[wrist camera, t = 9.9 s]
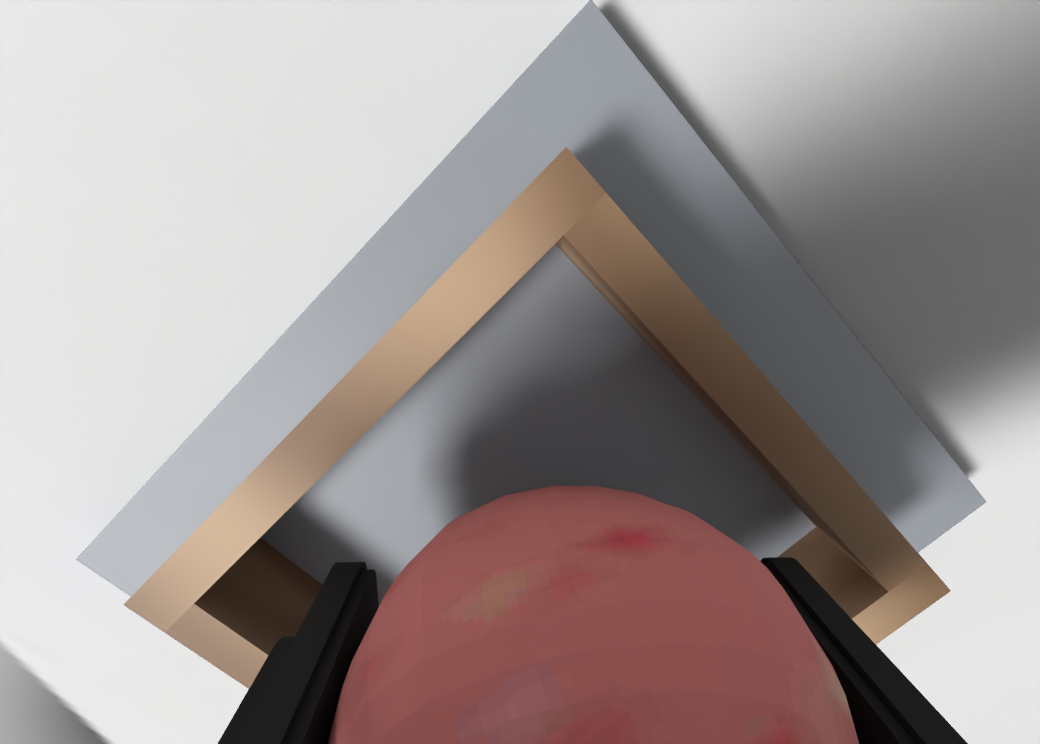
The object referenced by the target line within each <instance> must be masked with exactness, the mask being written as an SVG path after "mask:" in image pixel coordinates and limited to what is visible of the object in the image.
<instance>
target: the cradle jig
mask: <svg viewBox="0 0 1040 744" xmlns="http://www.w3.org/2000/svg"><path fill="white" fill-rule="evenodd" d="M550 486H599V487H605V488H610V489H616V490H622V491H628V492H633V493H638V494H642V495H644V496H647V497H650V498H652V499H655V500H658V501H660V502H663V503H665V504H668V505H671V506H674V507H677V508H680V509H684V510H687V511H689V512H690V513H692V514H694V515H696V516H697V517H699V518H700V519H702V520H703V521H705V522H706V523H708V524H709V525H711V526H713V527H714V528H716V529H717V530H719V531H720V532H722V533H723V534H725V535H726V536H728V537H729V538H731V539H732V540H734V541H735V542H737V543H738V544H740V545H741V546H742V547H744V548H745V549H746V550H748V551H749V552H751V553H752V554H753V555H754V556H755V557H756V558H757V559H758V560H759V561H761V560H762V558H768V557H791V558H795V559H796V560H797V561H798V562H799V563H800V564H801V565H802V566H803V567H804V568H805V569H806V570H807V571H808V572H809V574H810V575H811V576H812V577H813V578H814V579H815V580H816V581H817V582H818V583H819V584H820V585H821V586H822V588H823V589H824V590H825V591H826V592H827V593H828V594H829V595H830V596H831V597H832V598H833V599H834V600H835V601H836V603H837V604H838V605H839V606H840V607H841V608H842V609H843V610H844V611H845V612H846V613H847V614H848V615H849V617H850V618H851V619H852V620H853V621H854V622H855V623H856V624H857V625H858V626H859V627H860V628H861V629H862V631H863V632H864V633H865V634H866V635H867V636H868V637H869V638H870V639H871V640H872V641H873V642H874V643H875V645H876V644H877V643H879V642H880V641H882V640H883V639H884V638H886V637H887V636H889V635H890V634H891V633H893V632H894V631H896V630H897V629H898V628H900V627H901V626H902V625H904V624H905V623H907V622H908V621H909V620H911V619H912V618H914V617H915V616H916V615H918V614H919V613H921V612H922V611H923V610H925V609H926V608H928V607H929V606H930V605H932V604H933V603H935V602H936V601H937V600H939V599H940V598H942V597H943V596H944V595H946V594H947V593H949V592H950V589H949V588H948V587H947V586H946V585H945V584H944V582H943V581H942V580H941V579H940V578H939V577H938V576H937V574H936V573H935V572H934V571H933V570H932V569H931V567H930V566H929V565H928V564H927V563H926V562H925V561H924V559H923V558H922V557H921V556H920V555H919V554H918V552H919V551H921V550H922V549H924V548H925V547H926V546H928V545H929V544H930V543H932V542H933V541H934V540H936V539H937V538H938V537H940V536H941V535H942V534H944V533H945V532H946V531H948V530H949V529H951V528H952V527H953V526H955V525H956V524H957V523H959V522H960V521H961V520H963V519H964V518H965V517H967V516H968V515H969V514H971V513H972V512H974V511H975V510H976V509H978V508H979V507H980V506H982V505H983V504H984V503H986V501H985V499H984V498H983V497H982V496H981V494H980V493H979V492H978V490H977V489H976V488H975V487H974V485H973V484H972V483H971V482H970V480H969V479H968V478H967V477H966V475H965V474H964V473H963V471H962V470H961V469H960V468H959V466H958V465H957V464H956V463H955V461H954V460H953V459H952V457H951V456H950V455H949V454H948V452H947V451H946V450H945V449H944V447H943V446H942V445H941V443H940V442H939V441H938V440H937V438H936V437H935V436H934V435H933V433H932V432H931V431H930V429H929V428H928V427H927V426H926V424H925V423H924V422H923V421H922V419H921V418H920V417H919V415H918V414H917V413H916V412H915V410H914V409H913V408H912V407H911V405H910V404H909V403H908V402H907V400H906V399H905V398H904V396H903V395H902V394H901V393H900V391H899V390H898V389H897V388H896V386H895V385H894V384H893V382H892V381H891V380H890V379H889V377H888V376H887V375H886V374H885V372H884V371H883V370H882V368H881V367H880V366H879V365H878V363H877V362H876V361H875V360H874V358H873V357H872V356H871V354H870V353H869V352H868V351H867V349H866V348H865V347H864V346H863V344H862V343H861V342H860V340H859V339H858V338H857V337H856V335H855V334H854V333H853V332H852V330H851V329H850V328H849V327H848V325H847V324H846V323H845V321H844V320H843V319H842V318H841V316H840V315H839V314H838V313H837V311H836V310H835V309H834V307H833V306H832V305H831V304H830V302H829V301H828V300H827V299H826V297H825V296H824V295H823V293H822V292H821V291H820V290H819V288H818V287H817V286H816V285H815V283H814V282H813V281H812V279H811V278H810V277H809V276H808V274H807V273H806V272H805V271H804V269H803V268H802V267H801V265H800V264H799V263H798V262H797V260H796V259H795V258H794V257H793V255H792V254H791V253H790V252H789V250H788V249H787V248H786V246H785V245H784V244H783V243H782V241H781V240H780V239H779V238H778V236H777V235H776V234H775V232H774V231H773V230H772V229H771V227H770V226H769V225H768V224H767V222H766V221H765V220H764V218H763V217H762V216H761V215H760V213H759V212H758V211H757V210H756V208H755V207H754V206H753V204H752V203H751V202H750V201H749V199H748V198H747V197H746V196H745V194H744V193H743V192H742V190H741V189H740V188H739V187H738V185H737V184H736V183H735V182H734V180H733V179H732V178H731V177H730V175H729V174H728V173H727V171H726V170H725V169H724V168H723V166H722V165H721V164H720V163H719V161H718V160H717V159H716V157H715V156H714V155H713V154H712V152H711V151H710V150H709V149H708V147H707V146H706V145H705V143H704V142H703V141H702V140H701V138H700V137H699V136H698V135H697V133H696V132H695V131H694V129H693V128H692V127H691V126H690V124H689V123H688V122H687V121H686V119H685V118H684V117H683V115H682V114H681V113H680V112H679V110H678V109H677V108H676V107H675V105H674V104H673V103H672V102H671V100H670V99H669V98H668V96H667V95H666V94H665V93H664V91H663V90H662V89H661V88H660V86H659V85H658V84H657V82H656V81H655V80H654V79H653V77H652V76H651V75H650V74H649V72H648V71H647V70H646V68H645V67H644V66H643V65H642V63H641V62H640V61H639V60H638V58H637V57H636V56H635V54H634V53H633V52H632V51H631V49H630V48H629V47H628V46H627V44H626V43H625V42H624V40H623V39H622V38H621V37H620V35H619V34H618V33H617V32H616V30H615V29H614V28H613V27H612V25H611V24H610V23H609V21H608V20H607V19H606V18H605V16H604V15H603V14H602V13H601V11H600V10H599V9H598V7H597V6H596V5H595V4H594V2H593V1H592V0H590V1H589V2H588V3H587V4H586V5H585V6H584V7H583V8H582V10H581V11H580V12H579V13H578V14H577V15H576V16H575V17H574V18H573V19H572V20H571V21H570V23H569V24H568V25H567V26H566V27H565V28H564V29H563V30H562V31H561V32H560V33H559V35H558V36H557V37H556V38H555V39H554V40H553V41H552V42H551V43H550V44H549V45H548V47H547V48H546V49H545V50H544V51H543V52H542V53H541V54H540V55H539V56H538V57H537V58H536V60H535V61H534V62H533V63H532V64H531V65H530V66H529V67H528V68H527V69H526V70H525V72H524V73H523V74H522V75H521V76H520V77H519V78H518V79H517V80H516V81H515V82H514V83H513V85H512V86H511V87H510V88H509V89H508V90H507V91H506V92H505V93H504V94H503V95H502V97H501V98H500V99H499V100H498V101H497V102H496V103H495V104H494V105H493V106H492V107H491V108H490V110H489V111H488V112H487V113H486V114H485V115H484V116H483V117H482V118H481V119H480V120H479V122H478V123H477V124H476V125H475V126H474V127H473V128H472V129H471V130H470V131H469V132H468V134H467V135H466V136H465V137H464V138H463V139H462V140H461V141H460V142H459V143H458V144H457V145H456V147H455V148H454V149H453V150H452V151H451V152H450V153H449V154H448V155H447V156H446V157H445V159H444V160H443V161H442V162H441V163H440V164H439V165H438V166H437V167H436V168H435V169H434V170H433V172H432V173H431V174H430V175H429V176H428V177H427V178H426V179H425V180H424V181H423V182H422V184H421V185H420V186H419V187H418V188H417V189H416V190H415V191H414V192H413V193H412V194H411V196H410V197H409V198H408V199H407V200H406V201H405V202H404V203H403V204H402V205H401V206H400V207H399V209H398V210H397V211H396V212H395V213H394V214H393V215H392V216H391V217H390V218H389V219H388V221H387V222H386V223H385V224H384V225H383V226H382V227H381V228H380V229H379V230H378V231H377V232H376V234H375V235H374V236H373V237H372V238H371V239H370V240H369V241H368V242H367V243H366V244H365V246H364V247H363V248H362V249H361V250H360V251H359V252H358V253H357V254H356V255H355V256H354V258H353V259H352V260H351V261H350V262H349V263H348V264H347V265H346V266H345V267H344V268H343V269H342V271H341V272H340V273H339V274H338V275H337V276H336V277H335V278H334V279H333V280H332V281H331V283H330V284H329V285H328V286H327V287H326V288H325V289H324V290H323V291H322V292H321V293H320V294H319V296H318V297H317V298H316V299H315V300H314V301H313V302H312V303H311V304H310V305H309V306H308V308H307V309H306V310H305V311H304V312H303V313H302V314H301V315H300V316H299V317H298V318H297V320H296V321H295V322H294V323H293V324H292V325H291V326H290V327H289V328H288V329H287V330H286V331H285V333H284V334H283V335H282V336H281V337H280V338H279V339H278V340H277V341H276V342H275V343H274V345H273V346H272V347H271V348H270V349H269V350H268V351H267V352H266V353H265V354H264V355H263V356H262V358H261V359H260V360H259V361H258V362H257V363H256V364H255V365H254V366H253V367H252V368H251V370H250V371H249V372H248V373H247V374H246V375H245V376H244V377H243V378H242V379H241V380H240V381H239V383H238V384H237V385H236V386H235V387H234V388H233V389H232V390H231V391H230V392H229V393H228V395H227V396H226V397H225V398H224V399H223V400H222V401H221V402H220V403H219V404H218V405H217V407H216V408H215V409H214V410H213V411H212V412H211V413H210V414H209V415H208V416H207V417H206V418H205V420H204V421H203V422H202V423H201V424H200V425H199V426H198V427H197V428H196V429H195V430H194V432H193V433H192V434H191V435H190V436H189V437H188V438H187V439H186V440H185V441H184V442H183V443H182V445H181V446H180V447H179V448H178V449H177V450H176V451H175V452H174V453H173V454H172V455H171V457H170V458H169V459H168V460H167V461H166V462H165V463H164V464H163V465H162V466H161V467H160V469H159V470H158V471H157V472H156V473H155V474H154V475H153V476H152V477H151V478H150V479H149V480H148V482H147V483H146V484H145V485H144V486H143V487H142V488H141V489H140V490H139V491H138V492H137V494H136V495H135V496H134V497H133V498H132V499H131V500H130V501H129V502H128V503H127V504H126V505H125V507H124V508H123V509H122V510H121V511H120V512H119V513H118V514H117V515H116V516H115V517H114V519H113V520H112V521H111V522H110V523H109V524H108V525H107V526H106V527H105V528H104V529H103V531H102V532H101V533H100V534H99V535H98V536H97V537H96V538H95V539H94V540H93V541H92V542H91V544H90V545H89V546H88V547H87V548H86V549H85V550H84V551H83V552H82V553H81V554H80V556H79V557H78V558H77V559H76V560H77V561H79V562H80V563H82V564H83V565H85V566H86V567H88V568H89V569H91V570H92V571H94V572H95V573H97V574H98V575H100V576H101V577H103V578H104V579H106V580H107V581H109V582H110V583H112V584H113V585H115V586H116V587H118V588H119V589H120V590H122V591H123V592H125V593H126V594H128V595H129V596H131V598H130V599H129V600H128V601H127V602H126V603H125V604H124V606H126V607H127V608H129V609H130V610H132V611H133V612H135V613H136V614H138V615H139V616H141V617H142V618H144V619H145V620H147V621H148V622H150V623H151V624H153V625H154V626H156V627H157V628H159V629H160V630H162V631H163V632H165V633H166V634H168V635H169V636H171V637H172V638H174V639H175V640H177V641H178V642H180V643H181V644H183V645H184V646H186V647H187V648H189V649H190V650H192V651H193V652H195V653H196V654H198V655H199V656H201V657H202V658H204V659H205V660H207V661H208V662H210V663H211V664H213V665H214V666H216V667H217V668H219V669H220V670H222V671H223V672H225V673H226V674H228V675H229V676H231V677H232V678H234V679H235V680H237V681H238V682H240V683H241V684H243V685H244V686H246V687H247V688H250V687H251V685H252V683H253V681H254V680H255V678H256V676H257V674H258V673H259V671H260V669H261V668H262V666H263V664H264V662H265V661H266V659H267V657H268V655H269V654H270V652H271V650H272V648H273V647H274V645H275V644H276V643H277V641H278V640H279V639H281V638H282V637H295V635H296V633H297V631H298V630H299V628H300V626H301V624H302V622H303V620H304V618H305V617H306V615H307V613H308V611H309V609H310V607H311V605H312V603H313V602H314V600H315V598H316V596H317V594H318V592H319V590H320V588H321V587H322V585H323V583H324V581H325V579H326V577H327V575H328V574H329V572H330V570H331V568H332V566H333V565H334V563H336V562H365V563H366V565H367V569H374V570H375V572H376V578H377V591H378V604H379V606H380V604H381V602H382V600H383V598H384V596H385V594H386V592H387V591H388V589H389V588H390V586H391V585H392V583H393V582H394V580H395V579H396V577H397V576H398V575H399V574H400V573H401V571H402V570H403V569H404V568H405V567H406V566H407V564H408V563H409V562H410V561H411V560H412V559H413V558H414V557H415V556H416V555H417V554H418V553H419V552H420V551H421V550H422V549H423V548H424V547H425V546H426V545H427V544H428V543H429V542H430V541H431V540H432V539H433V538H434V537H435V536H436V535H437V534H438V533H439V532H440V531H441V530H442V529H443V528H444V527H445V526H446V525H447V524H449V523H450V522H451V521H453V520H454V519H456V518H457V517H459V516H461V515H464V514H466V513H468V512H470V511H472V510H474V509H476V508H479V507H481V506H483V505H485V504H487V503H489V502H491V501H494V500H496V499H498V498H500V497H502V496H505V495H508V494H513V493H519V492H524V491H529V490H534V489H540V488H545V487H550Z"/></svg>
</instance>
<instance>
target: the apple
mask: <svg viewBox="0 0 1040 744" xmlns="http://www.w3.org/2000/svg"><path fill="white" fill-rule="evenodd" d="M328 744H859V741H858V738H857V734H856V731H855V727H854V724H853V720H852V716H851V713H850V709H849V706H848V702H847V698H846V695H845V693H844V691H843V688H842V686H841V684H840V682H839V680H838V677H837V675H836V673H835V671H834V668H833V666H832V664H831V663H830V661H829V659H828V658H827V656H826V655H825V653H824V651H823V650H822V648H821V647H820V645H819V644H818V642H817V640H816V639H815V637H814V636H813V634H812V632H811V631H810V629H809V628H808V626H807V625H806V623H805V621H804V620H803V618H802V617H801V615H800V614H799V612H798V610H797V609H796V607H795V606H794V604H793V603H792V601H791V599H790V598H789V596H788V595H787V593H786V592H785V590H784V589H783V587H782V586H781V585H780V584H779V582H778V581H777V580H776V578H775V577H774V576H773V575H772V573H771V572H770V571H769V569H768V568H767V567H766V566H765V565H764V564H762V563H761V562H760V561H759V560H758V559H757V558H756V557H755V556H754V555H753V554H752V553H751V552H749V551H748V550H746V549H745V548H744V547H742V546H741V545H740V544H738V543H737V542H735V541H734V540H732V539H731V538H729V537H728V536H726V535H725V534H723V533H722V532H720V531H719V530H717V529H716V528H714V527H713V526H711V525H709V524H708V523H706V522H705V521H703V520H702V519H700V518H699V517H697V516H696V515H694V514H692V513H690V512H689V511H687V510H684V509H680V508H677V507H674V506H671V505H668V504H665V503H663V502H660V501H658V500H655V499H652V498H650V497H647V496H644V495H642V494H638V493H633V492H628V491H622V490H616V489H610V488H605V487H599V486H550V487H545V488H540V489H534V490H529V491H524V492H519V493H513V494H508V495H505V496H502V497H500V498H498V499H496V500H494V501H491V502H489V503H487V504H485V505H483V506H481V507H479V508H476V509H474V510H472V511H470V512H468V513H466V514H464V515H461V516H459V517H457V518H456V519H454V520H453V521H451V522H450V523H449V524H447V525H446V526H445V527H444V528H443V529H442V530H441V531H440V532H439V533H438V534H437V535H436V536H435V537H434V538H433V539H432V540H431V541H430V542H429V543H428V544H427V545H426V546H425V547H424V548H423V549H422V550H421V551H420V552H419V553H418V554H417V555H416V556H415V557H414V558H413V559H412V560H411V561H410V562H409V563H408V564H407V566H406V567H405V568H404V569H403V570H402V571H401V573H400V574H399V575H398V576H397V577H396V579H395V580H394V582H393V583H392V585H391V586H390V588H389V589H388V591H387V592H386V594H385V596H384V598H383V600H382V602H381V604H380V606H379V608H378V610H377V612H376V614H375V616H374V618H373V620H372V622H371V624H370V626H369V628H368V630H367V632H366V634H365V636H364V638H363V640H362V642H361V644H360V646H359V648H358V650H357V652H356V654H355V656H354V658H353V660H352V662H351V665H350V667H349V670H348V673H347V676H346V678H345V681H344V684H343V687H342V690H341V694H340V698H339V702H338V705H337V709H336V713H335V716H334V720H333V724H332V727H331V731H330V735H329V740H328Z"/></svg>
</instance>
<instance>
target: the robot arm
mask: <svg viewBox="0 0 1040 744" xmlns="http://www.w3.org/2000/svg"><path fill="white" fill-rule="evenodd" d="M760 562H761V563H762V564H764V565H765V566H766V567H767V568H768V569H769V571H770V572H771V573H772V575H773V576H774V577H775V578H776V580H777V581H778V582H779V584H780V585H781V586H782V587H783V589H784V590H785V592H786V593H787V595H788V596H789V598H790V599H791V601H792V603H793V604H794V606H795V607H796V609H797V610H798V612H799V614H800V615H801V617H802V618H803V620H804V621H805V623H806V625H807V626H808V628H809V629H810V631H811V632H812V634H813V636H814V637H815V639H816V640H817V642H818V644H819V645H820V647H821V648H822V650H823V651H824V653H825V655H826V656H827V658H828V659H829V661H830V663H831V664H832V666H833V668H834V671H835V673H836V675H837V677H838V680H839V682H840V684H841V686H842V688H843V691H844V693H845V695H846V698H847V702H848V706H849V709H850V713H851V716H852V720H853V724H854V727H855V731H856V734H857V738H858V741H859V744H968V743H967V742H966V741H965V740H964V739H963V738H962V737H961V736H960V735H959V734H958V733H957V732H956V731H955V729H954V728H953V727H952V726H951V725H950V724H949V723H948V722H947V721H946V720H945V719H944V718H943V717H942V715H941V714H940V713H939V712H938V711H937V710H936V709H935V708H934V707H933V706H932V705H931V704H930V703H929V701H928V700H927V699H926V698H925V697H924V696H923V695H922V694H921V693H920V692H919V691H918V690H917V689H916V688H915V686H914V685H913V684H912V683H911V682H910V681H909V680H908V679H907V678H906V677H905V676H904V675H903V674H902V672H901V671H900V670H899V669H898V668H897V667H896V666H895V665H894V664H893V663H892V662H891V661H890V660H889V658H888V657H887V656H886V655H885V654H884V653H883V652H882V651H881V650H880V649H879V648H878V647H877V646H876V645H875V643H874V642H873V641H872V640H871V639H870V638H869V637H868V636H867V635H866V634H865V633H864V632H863V631H862V629H861V628H860V627H859V626H858V625H857V624H856V623H855V622H854V621H853V620H852V619H851V618H850V617H849V615H848V614H847V613H846V612H845V611H844V610H843V609H842V608H841V607H840V606H839V605H838V604H837V603H836V601H835V600H834V599H833V598H832V597H831V596H830V595H829V594H828V593H827V592H826V591H825V590H824V589H823V588H822V586H821V585H820V584H819V583H818V582H817V581H816V580H815V579H814V578H813V577H812V576H811V575H810V574H809V572H808V571H807V570H806V569H805V568H804V567H803V566H802V565H801V564H800V563H799V562H798V561H797V560H796V559H795V558H791V557H768V558H762V560H761V561H760ZM378 608H379V604H378V591H377V578H376V572H375V570H374V569H367V565H366V563H365V562H336V563H334V565H333V566H332V568H331V570H330V572H329V574H328V575H327V577H326V579H325V581H324V583H323V585H322V587H321V588H320V590H319V592H318V594H317V596H316V598H315V600H314V602H313V603H312V605H311V607H310V609H309V611H308V613H307V615H306V617H305V618H304V620H303V622H302V624H301V626H300V628H299V630H298V631H297V633H296V635H295V637H282V638H281V639H279V640H278V641H277V643H276V644H275V645H274V647H273V648H272V650H271V652H270V654H269V655H268V657H267V659H266V661H265V662H264V664H263V666H262V668H261V669H260V671H259V673H258V674H257V676H256V678H255V680H254V681H253V683H252V685H251V687H250V688H249V690H248V692H247V694H246V695H245V697H244V699H243V701H242V702H241V704H240V706H239V708H238V709H237V711H236V713H235V714H234V716H233V718H232V720H231V721H230V723H229V725H228V727H227V728H226V730H225V732H224V734H223V735H222V737H221V739H220V741H219V742H218V744H328V740H329V735H330V731H331V727H332V724H333V720H334V716H335V713H336V709H337V705H338V702H339V698H340V694H341V690H342V687H343V684H344V681H345V678H346V676H347V673H348V670H349V667H350V665H351V662H352V660H353V658H354V656H355V654H356V652H357V650H358V648H359V646H360V644H361V642H362V640H363V638H364V636H365V634H366V632H367V630H368V628H369V626H370V624H371V622H372V620H373V618H374V616H375V614H376V612H377V610H378Z"/></svg>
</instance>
